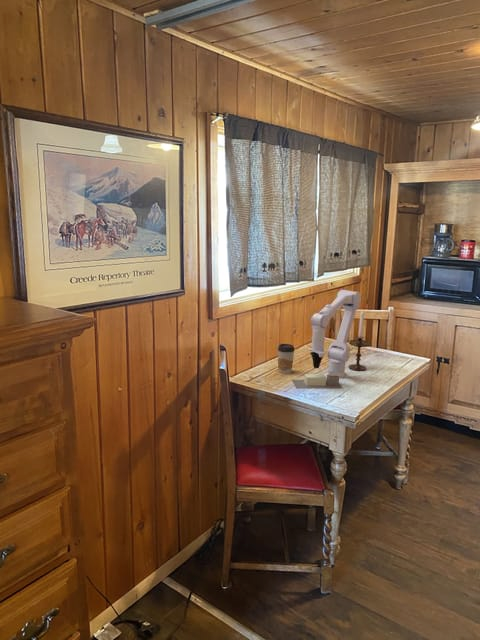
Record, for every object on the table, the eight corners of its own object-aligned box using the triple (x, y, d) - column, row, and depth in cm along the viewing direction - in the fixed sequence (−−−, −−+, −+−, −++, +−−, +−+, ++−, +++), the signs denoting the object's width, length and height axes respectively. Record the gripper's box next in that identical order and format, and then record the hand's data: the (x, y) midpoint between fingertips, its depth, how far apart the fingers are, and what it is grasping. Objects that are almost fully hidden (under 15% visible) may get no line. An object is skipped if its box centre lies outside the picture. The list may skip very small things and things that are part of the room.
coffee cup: (274, 375, 243) (275, 346, 240) (279, 370, 251) (280, 342, 247) (290, 378, 240) (292, 348, 237) (294, 373, 248) (296, 344, 244)
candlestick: (352, 372, 253) (358, 305, 245) (343, 365, 263) (349, 301, 255) (371, 371, 255) (377, 305, 247) (362, 365, 265) (368, 301, 258)
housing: (291, 382, 234) (291, 371, 233) (335, 382, 236) (336, 371, 235) (296, 391, 222) (296, 380, 221) (343, 391, 224) (344, 380, 223)
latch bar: (328, 374, 229) (328, 371, 229) (343, 374, 230) (343, 371, 229) (329, 375, 227) (329, 372, 227) (344, 376, 228) (344, 372, 228)
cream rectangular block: (304, 382, 230) (304, 374, 230) (322, 382, 231) (323, 374, 230) (306, 385, 226) (307, 377, 225) (325, 385, 226) (326, 377, 226)
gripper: (305, 335, 230) (304, 363, 233) (313, 343, 216) (311, 372, 219) (320, 335, 231) (318, 363, 234) (329, 343, 217) (327, 372, 220)
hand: (316, 367), depth 227 cm, fingers closed
